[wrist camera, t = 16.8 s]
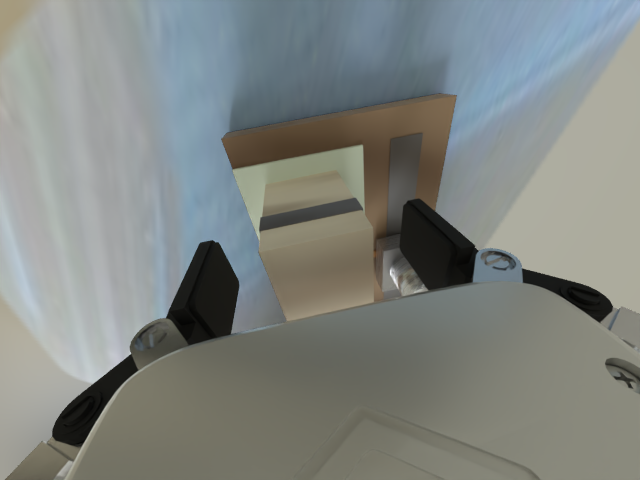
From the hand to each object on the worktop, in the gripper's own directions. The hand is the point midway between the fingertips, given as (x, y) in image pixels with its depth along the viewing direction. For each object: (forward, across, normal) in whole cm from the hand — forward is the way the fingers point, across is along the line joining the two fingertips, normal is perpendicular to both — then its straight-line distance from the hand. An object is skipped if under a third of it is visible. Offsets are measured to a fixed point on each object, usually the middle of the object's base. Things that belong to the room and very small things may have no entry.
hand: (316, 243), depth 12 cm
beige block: (+3, 0, 0) cm, 3 cm away
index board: (+5, -2, +5) cm, 7 cm away
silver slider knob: (+3, -6, +5) cm, 8 cm away
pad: (+3, 0, 0) cm, 3 cm away
